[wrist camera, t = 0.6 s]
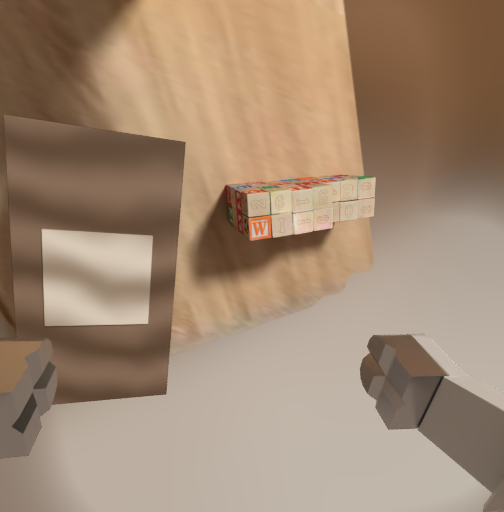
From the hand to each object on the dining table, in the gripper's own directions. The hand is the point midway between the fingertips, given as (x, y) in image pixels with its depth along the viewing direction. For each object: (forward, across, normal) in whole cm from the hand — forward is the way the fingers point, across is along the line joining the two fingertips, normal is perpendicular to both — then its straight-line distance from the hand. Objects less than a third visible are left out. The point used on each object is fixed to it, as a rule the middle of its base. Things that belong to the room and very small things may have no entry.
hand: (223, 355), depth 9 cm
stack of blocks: (+47, -16, +8) cm, 50 cm away
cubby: (+42, +12, +15) cm, 46 cm away
